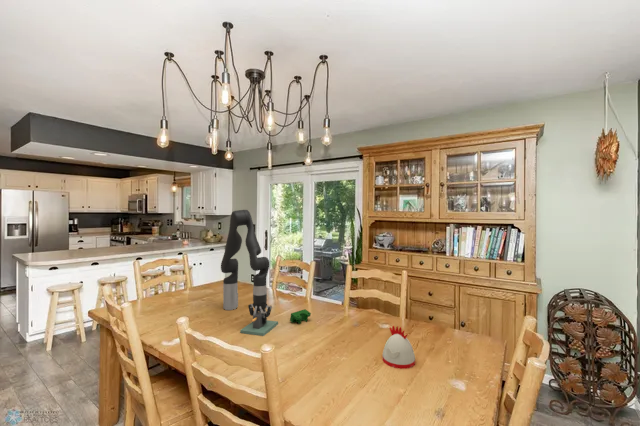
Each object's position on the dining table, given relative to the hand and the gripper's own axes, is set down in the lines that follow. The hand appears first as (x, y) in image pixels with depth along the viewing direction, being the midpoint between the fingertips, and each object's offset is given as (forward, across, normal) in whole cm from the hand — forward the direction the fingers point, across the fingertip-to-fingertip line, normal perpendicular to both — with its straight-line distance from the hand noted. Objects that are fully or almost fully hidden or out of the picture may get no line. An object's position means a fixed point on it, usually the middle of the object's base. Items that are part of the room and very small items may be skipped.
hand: (259, 323), depth 173 cm
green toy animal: (+3, -18, -16) cm, 25 cm away
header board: (+3, 0, 0) cm, 3 cm away
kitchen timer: (+3, -76, +15) cm, 78 cm away
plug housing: (+1, 0, +2) cm, 2 cm away
